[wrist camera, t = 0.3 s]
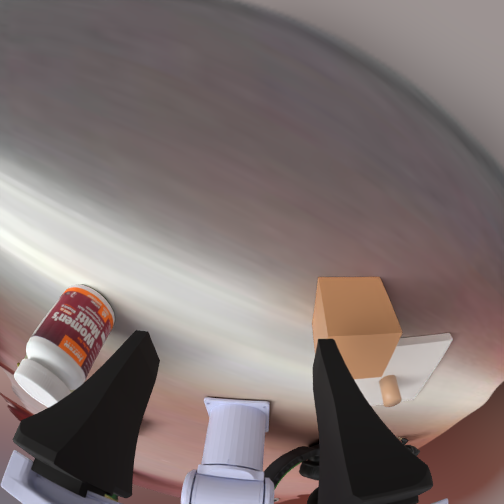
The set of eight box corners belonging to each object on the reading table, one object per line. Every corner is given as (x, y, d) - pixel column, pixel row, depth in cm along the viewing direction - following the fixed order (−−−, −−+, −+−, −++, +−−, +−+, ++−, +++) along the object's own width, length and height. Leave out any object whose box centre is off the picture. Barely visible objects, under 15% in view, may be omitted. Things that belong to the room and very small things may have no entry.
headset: (363, 411, 49) (231, 462, 35) (419, 406, 38) (281, 486, 24) (373, 480, 42) (253, 543, 28) (425, 485, 32) (301, 576, 17)
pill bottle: (121, 302, 25) (69, 402, 15) (111, 336, 28) (69, 422, 18) (69, 271, 24) (3, 358, 14) (64, 308, 27) (14, 387, 17)
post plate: (411, 393, 31) (418, 418, 27) (326, 402, 32) (328, 430, 28) (449, 332, 24) (462, 361, 21) (345, 341, 25) (352, 375, 22)
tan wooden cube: (366, 322, 24) (381, 376, 19) (312, 323, 24) (317, 381, 19) (379, 276, 21) (402, 332, 16) (318, 277, 22) (328, 336, 17)
